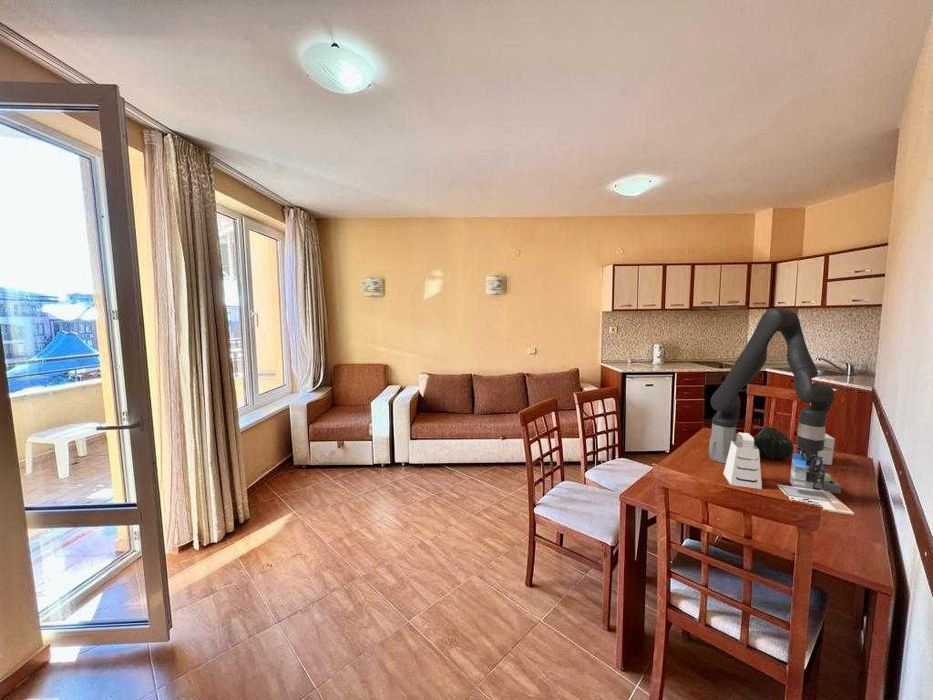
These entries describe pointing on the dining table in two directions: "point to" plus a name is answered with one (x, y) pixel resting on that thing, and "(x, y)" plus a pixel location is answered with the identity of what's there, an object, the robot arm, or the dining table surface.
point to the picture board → (816, 498)
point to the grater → (743, 462)
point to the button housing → (832, 487)
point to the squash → (773, 444)
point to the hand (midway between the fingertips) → (806, 478)
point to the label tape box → (800, 475)
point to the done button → (827, 478)
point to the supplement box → (827, 450)
